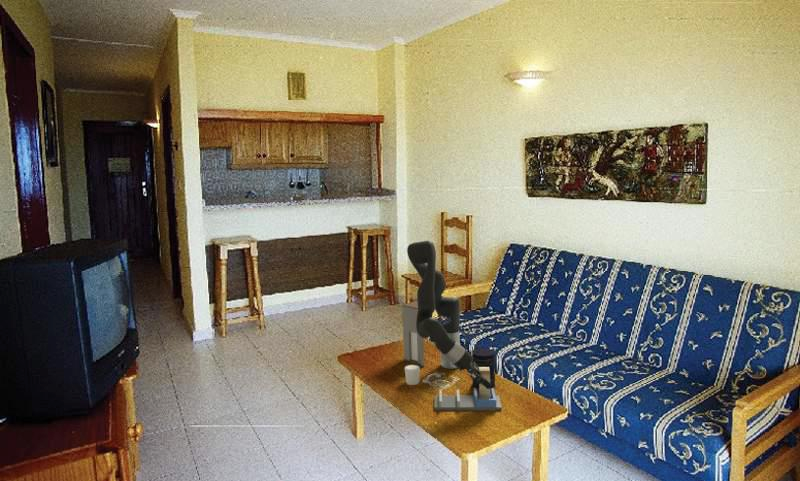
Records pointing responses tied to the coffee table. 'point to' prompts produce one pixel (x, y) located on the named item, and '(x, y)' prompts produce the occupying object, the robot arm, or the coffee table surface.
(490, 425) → the coffee table surface
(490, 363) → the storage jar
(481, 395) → the peg
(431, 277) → the robot arm
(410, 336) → the cabinet
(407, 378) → the beige cylinder
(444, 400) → the grey slotted base
